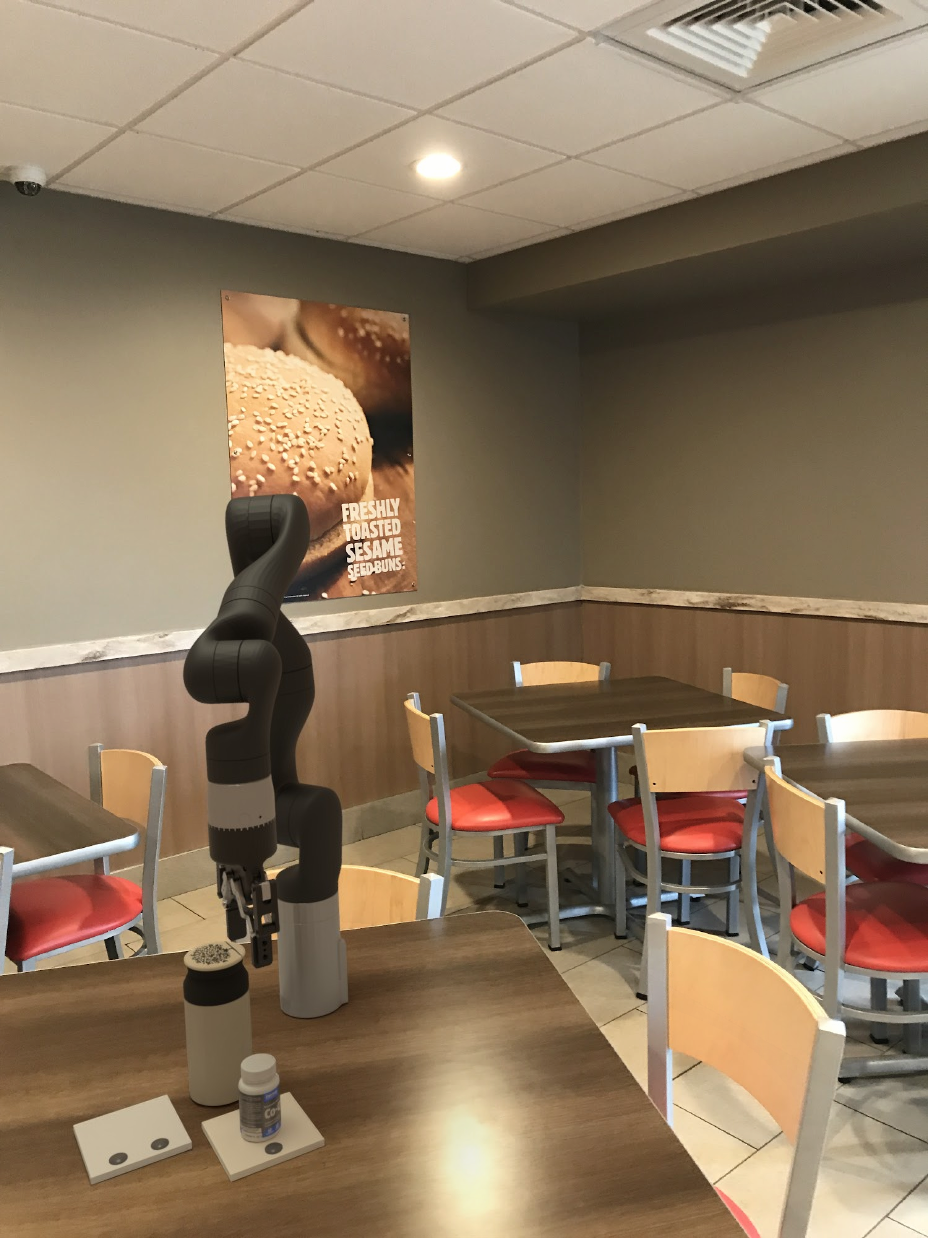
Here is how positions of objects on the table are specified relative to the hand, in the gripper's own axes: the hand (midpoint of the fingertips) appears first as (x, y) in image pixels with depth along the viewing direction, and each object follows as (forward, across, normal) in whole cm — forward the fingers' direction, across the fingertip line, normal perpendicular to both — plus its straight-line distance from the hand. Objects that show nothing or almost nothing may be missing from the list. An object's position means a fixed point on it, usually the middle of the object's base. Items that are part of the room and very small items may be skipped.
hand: (249, 951), depth 111 cm
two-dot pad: (+22, +7, +13) cm, 27 cm away
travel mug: (+23, +11, +1) cm, 25 cm away
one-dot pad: (+22, -1, 0) cm, 22 cm away
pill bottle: (+22, -1, 0) cm, 22 cm away
